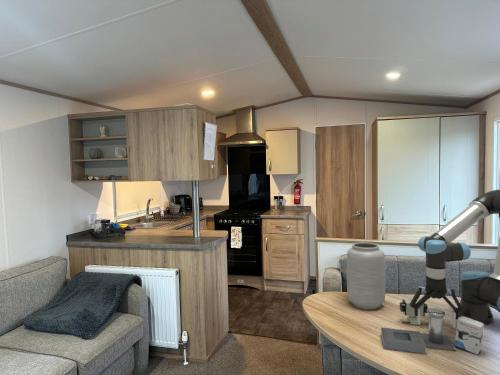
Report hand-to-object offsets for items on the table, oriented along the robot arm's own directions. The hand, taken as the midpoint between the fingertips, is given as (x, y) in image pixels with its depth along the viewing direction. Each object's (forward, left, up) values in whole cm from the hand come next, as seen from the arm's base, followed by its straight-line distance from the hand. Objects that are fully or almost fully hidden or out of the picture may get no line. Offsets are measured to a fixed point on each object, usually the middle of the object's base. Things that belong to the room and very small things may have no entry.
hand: (435, 324), depth 143 cm
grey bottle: (0, 0, -7) cm, 7 cm away
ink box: (-11, +3, -7) cm, 14 cm away
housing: (+14, +5, -8) cm, 17 cm away
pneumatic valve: (+6, -17, -8) cm, 20 cm away
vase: (+27, -35, -8) cm, 45 cm away
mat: (0, 0, -8) cm, 8 cm away
